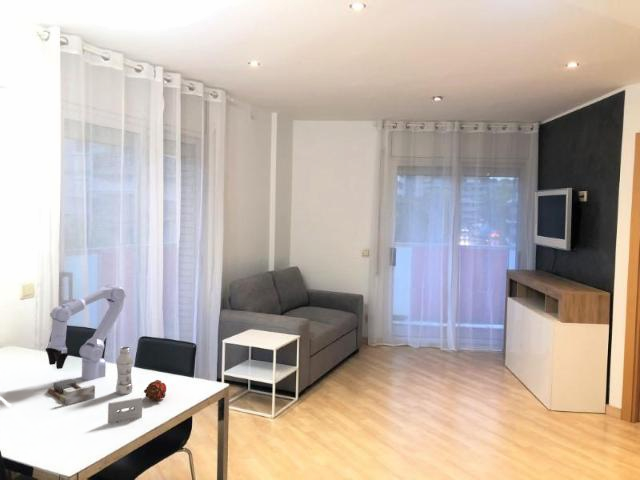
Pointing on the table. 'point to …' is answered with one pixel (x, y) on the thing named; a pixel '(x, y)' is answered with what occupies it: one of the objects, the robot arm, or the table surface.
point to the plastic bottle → (124, 372)
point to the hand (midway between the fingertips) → (55, 366)
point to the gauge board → (75, 394)
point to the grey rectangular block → (64, 385)
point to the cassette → (124, 415)
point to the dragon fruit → (155, 390)
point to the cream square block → (67, 390)
